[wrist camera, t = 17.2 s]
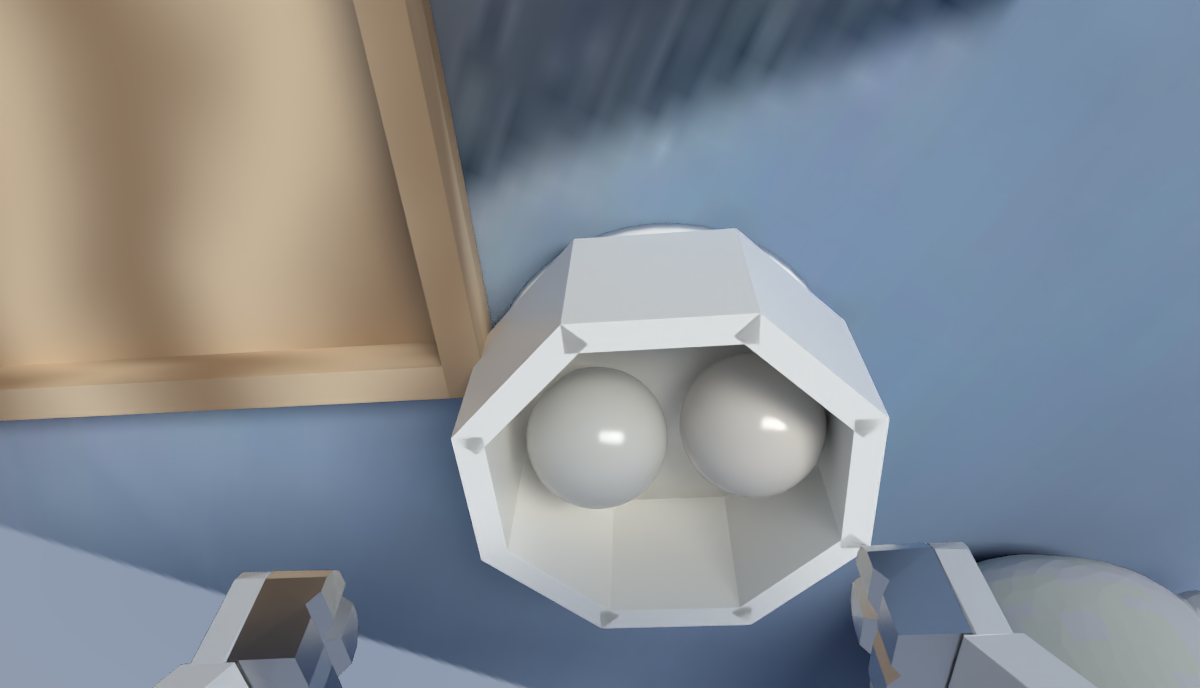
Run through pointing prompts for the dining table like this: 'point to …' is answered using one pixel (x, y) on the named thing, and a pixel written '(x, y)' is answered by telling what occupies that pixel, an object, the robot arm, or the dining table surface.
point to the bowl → (679, 493)
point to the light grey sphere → (597, 437)
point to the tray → (229, 208)
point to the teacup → (1100, 619)
